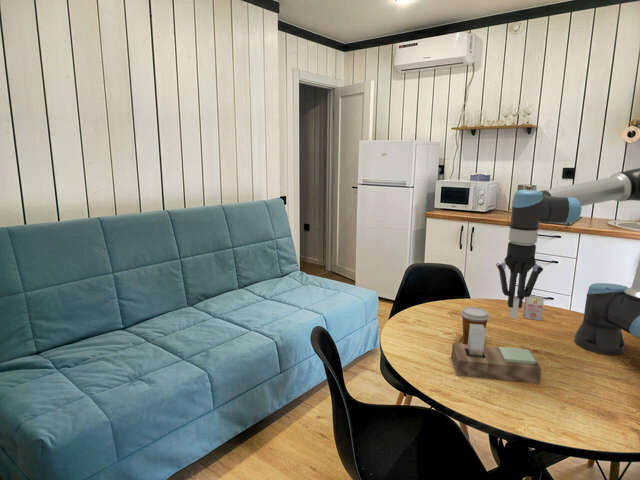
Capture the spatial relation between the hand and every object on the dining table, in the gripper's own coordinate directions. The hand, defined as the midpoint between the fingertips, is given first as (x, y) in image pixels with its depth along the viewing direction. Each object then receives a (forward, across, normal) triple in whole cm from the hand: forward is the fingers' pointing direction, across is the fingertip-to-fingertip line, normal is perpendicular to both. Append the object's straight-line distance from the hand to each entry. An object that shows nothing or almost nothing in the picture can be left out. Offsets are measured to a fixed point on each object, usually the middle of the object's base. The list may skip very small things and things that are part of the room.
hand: (513, 317), depth 128 cm
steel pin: (+18, +10, 0) cm, 21 cm away
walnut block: (+18, +4, 0) cm, 19 cm away
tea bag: (+19, -22, -48) cm, 56 cm away
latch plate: (+13, -3, 0) cm, 13 cm away
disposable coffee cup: (+18, +7, -19) cm, 27 cm away
